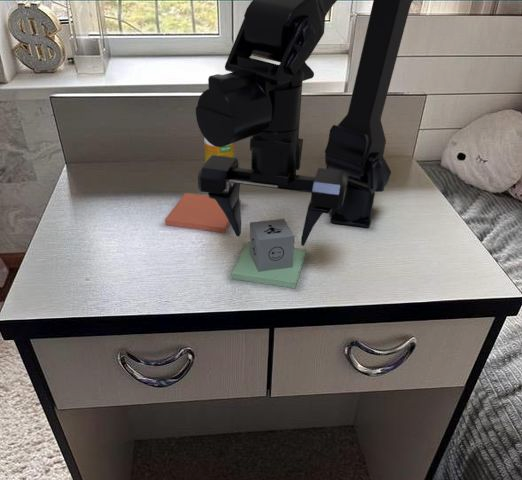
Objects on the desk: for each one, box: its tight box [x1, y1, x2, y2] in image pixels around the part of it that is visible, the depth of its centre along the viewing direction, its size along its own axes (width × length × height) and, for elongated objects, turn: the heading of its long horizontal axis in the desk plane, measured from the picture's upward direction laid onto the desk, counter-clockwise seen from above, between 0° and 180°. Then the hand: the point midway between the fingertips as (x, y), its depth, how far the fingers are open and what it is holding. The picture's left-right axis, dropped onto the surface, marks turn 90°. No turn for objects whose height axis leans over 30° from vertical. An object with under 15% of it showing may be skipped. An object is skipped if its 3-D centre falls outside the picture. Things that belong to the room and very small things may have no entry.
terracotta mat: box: [164, 192, 242, 234], centre depth 87 cm, size 10×10×1 cm
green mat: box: [231, 240, 307, 289], centre depth 76 cm, size 9×9×1 cm
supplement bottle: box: [203, 136, 235, 164], centre depth 96 cm, size 5×5×10 cm
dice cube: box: [249, 218, 296, 272], centre depth 74 cm, size 5×5×5 cm
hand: (270, 239), depth 73 cm, fingers open, 9 cm apart
